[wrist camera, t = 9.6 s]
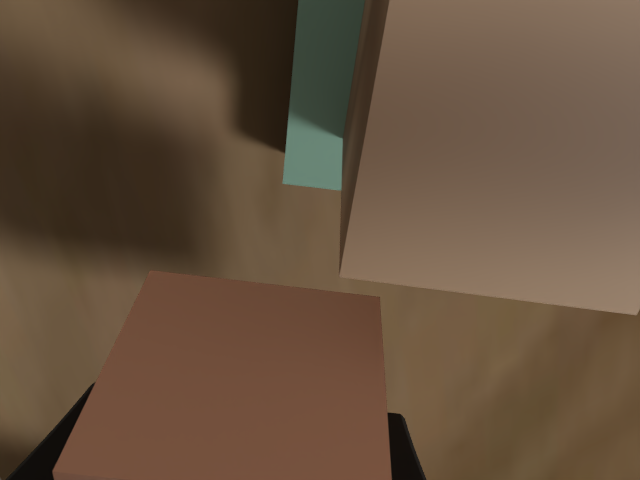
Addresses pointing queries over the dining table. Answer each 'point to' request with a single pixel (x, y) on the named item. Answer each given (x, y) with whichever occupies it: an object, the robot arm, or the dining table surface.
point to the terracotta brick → (237, 387)
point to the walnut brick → (496, 150)
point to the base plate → (321, 91)
